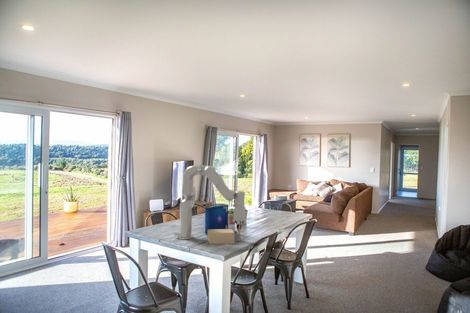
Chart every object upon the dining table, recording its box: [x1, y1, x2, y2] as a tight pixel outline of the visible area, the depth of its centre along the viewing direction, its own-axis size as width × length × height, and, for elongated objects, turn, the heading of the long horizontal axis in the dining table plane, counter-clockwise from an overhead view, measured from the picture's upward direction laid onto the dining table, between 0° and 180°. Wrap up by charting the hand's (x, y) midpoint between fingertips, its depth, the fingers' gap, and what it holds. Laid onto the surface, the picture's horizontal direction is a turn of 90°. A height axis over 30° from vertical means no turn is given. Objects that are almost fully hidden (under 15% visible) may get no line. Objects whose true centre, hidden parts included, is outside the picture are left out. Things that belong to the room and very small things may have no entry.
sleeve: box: [207, 228, 235, 245], centre depth 250 cm, size 20×12×8 cm, turn 103°
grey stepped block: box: [233, 222, 241, 242], centre depth 251 cm, size 20×10×13 cm, turn 103°
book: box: [204, 203, 229, 236], centre depth 273 cm, size 22×7×25 cm, turn 126°
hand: (238, 229), depth 253 cm, fingers closed
